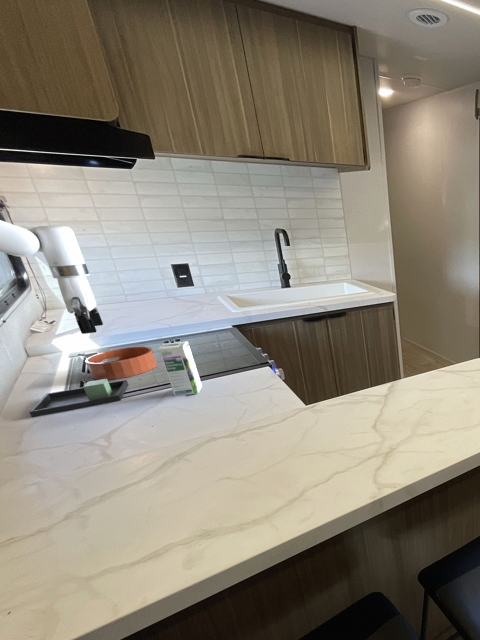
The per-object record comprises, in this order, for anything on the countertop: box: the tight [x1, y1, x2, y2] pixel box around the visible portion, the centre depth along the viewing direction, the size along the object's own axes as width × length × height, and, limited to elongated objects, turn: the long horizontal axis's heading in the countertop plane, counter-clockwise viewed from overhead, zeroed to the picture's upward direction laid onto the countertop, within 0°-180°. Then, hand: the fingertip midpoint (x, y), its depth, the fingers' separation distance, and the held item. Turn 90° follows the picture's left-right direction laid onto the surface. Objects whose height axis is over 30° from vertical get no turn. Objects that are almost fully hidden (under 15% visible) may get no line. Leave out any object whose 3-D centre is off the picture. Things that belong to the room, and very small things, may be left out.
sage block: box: [83, 379, 112, 400], centre depth 112 cm, size 4×4×4 cm
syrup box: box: [158, 340, 203, 397], centre depth 114 cm, size 6×6×14 cm
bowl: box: [84, 346, 158, 381], centre depth 130 cm, size 16×16×6 cm
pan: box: [29, 379, 129, 418], centre depth 111 cm, size 17×13×2 cm
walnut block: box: [101, 357, 121, 363], centre depth 129 cm, size 4×4×4 cm
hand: (93, 329), depth 121 cm, fingers open, 9 cm apart
